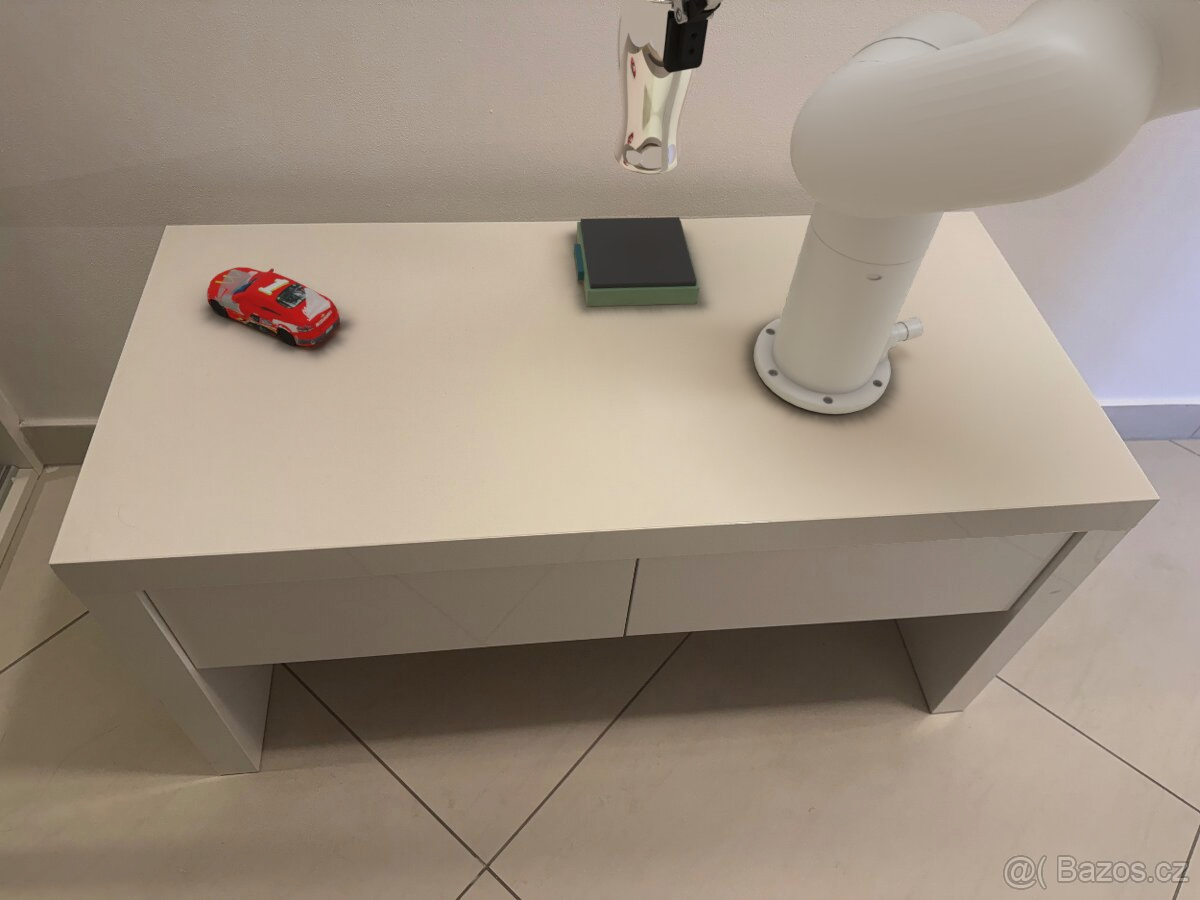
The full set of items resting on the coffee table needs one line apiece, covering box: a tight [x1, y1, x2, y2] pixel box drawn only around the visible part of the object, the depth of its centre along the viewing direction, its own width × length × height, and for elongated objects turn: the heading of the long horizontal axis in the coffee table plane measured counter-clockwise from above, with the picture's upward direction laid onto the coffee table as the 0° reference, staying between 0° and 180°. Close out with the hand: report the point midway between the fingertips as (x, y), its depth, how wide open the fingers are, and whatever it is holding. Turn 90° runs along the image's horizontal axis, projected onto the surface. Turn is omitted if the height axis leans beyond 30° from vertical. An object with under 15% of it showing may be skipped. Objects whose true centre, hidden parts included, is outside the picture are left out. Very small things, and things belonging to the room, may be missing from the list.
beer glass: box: [613, 0, 698, 175], centre depth 72 cm, size 7×7×15 cm
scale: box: [573, 216, 700, 307], centre depth 87 cm, size 12×11×3 cm
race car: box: [206, 266, 341, 346], centre depth 79 cm, size 13×5×4 cm, turn 63°
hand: (659, 44), depth 70 cm, fingers closed on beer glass, 7 cm apart
